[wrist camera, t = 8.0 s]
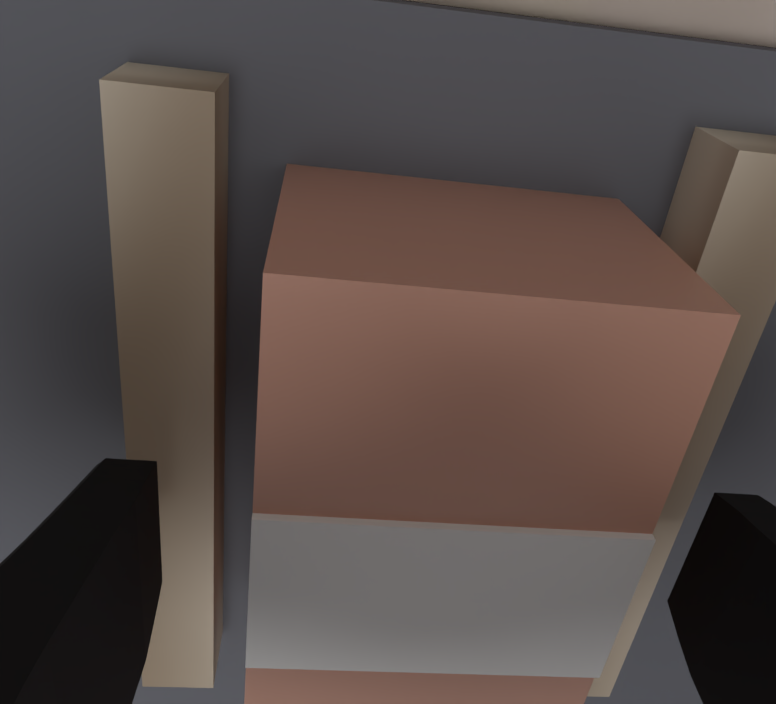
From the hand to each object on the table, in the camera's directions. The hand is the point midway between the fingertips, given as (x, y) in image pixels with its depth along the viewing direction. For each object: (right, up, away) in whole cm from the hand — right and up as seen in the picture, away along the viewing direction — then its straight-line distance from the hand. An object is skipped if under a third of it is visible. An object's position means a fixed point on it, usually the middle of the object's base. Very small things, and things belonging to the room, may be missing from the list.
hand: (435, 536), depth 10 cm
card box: (0, +1, +2) cm, 3 cm away
